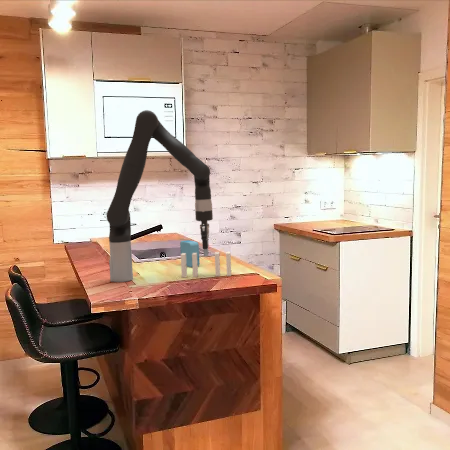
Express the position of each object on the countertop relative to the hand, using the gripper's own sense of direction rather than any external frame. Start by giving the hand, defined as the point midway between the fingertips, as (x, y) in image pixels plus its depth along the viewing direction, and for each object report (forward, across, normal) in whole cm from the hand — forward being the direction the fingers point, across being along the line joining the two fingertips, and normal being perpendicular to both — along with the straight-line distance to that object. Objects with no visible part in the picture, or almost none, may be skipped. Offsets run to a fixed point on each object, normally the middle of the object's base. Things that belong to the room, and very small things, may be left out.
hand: (205, 247), depth 224 cm
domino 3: (+3, 0, 0) cm, 3 cm away
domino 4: (+13, 0, +5) cm, 13 cm away
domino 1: (+12, 0, -10) cm, 16 cm away
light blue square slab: (+13, -26, -10) cm, 31 cm away
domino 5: (+13, 0, +10) cm, 16 cm away
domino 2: (+12, 0, -5) cm, 13 cm away
